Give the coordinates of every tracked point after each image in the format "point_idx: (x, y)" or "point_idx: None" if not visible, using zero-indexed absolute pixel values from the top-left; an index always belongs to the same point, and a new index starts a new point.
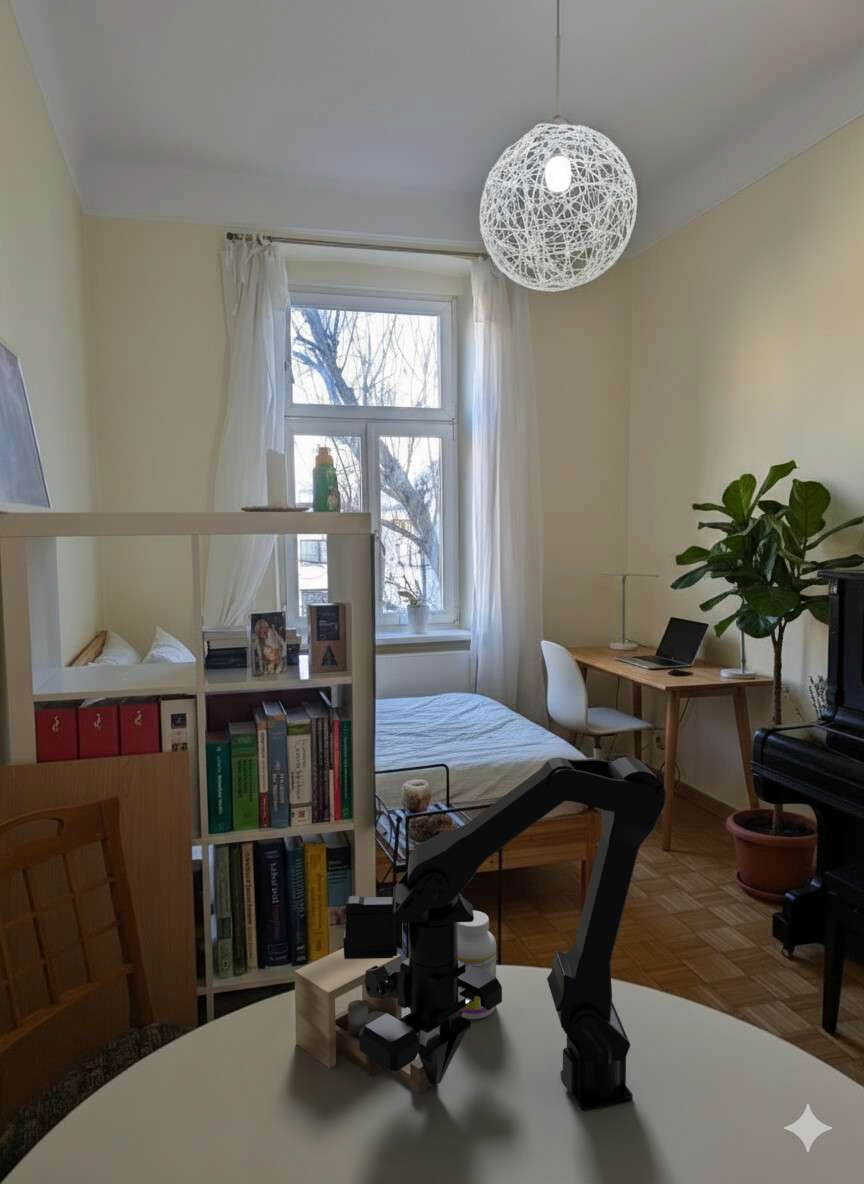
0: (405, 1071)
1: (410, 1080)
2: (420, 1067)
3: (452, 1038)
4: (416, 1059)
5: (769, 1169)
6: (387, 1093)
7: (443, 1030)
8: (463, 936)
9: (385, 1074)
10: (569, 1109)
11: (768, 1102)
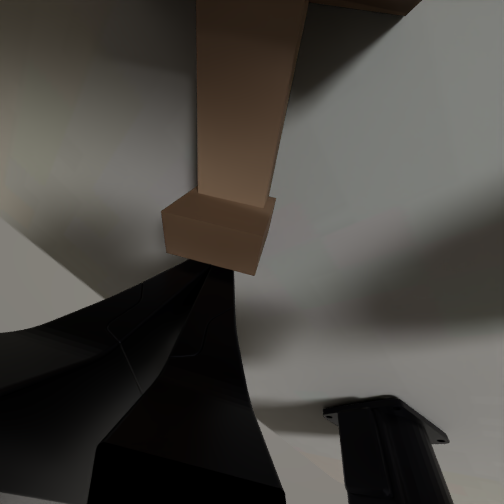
0: (199, 156)
1: (194, 188)
2: (175, 252)
3: (162, 478)
4: (192, 221)
5: (320, 466)
6: (140, 134)
7: (145, 492)
8: None
9: (189, 47)
10: (318, 397)
11: None
